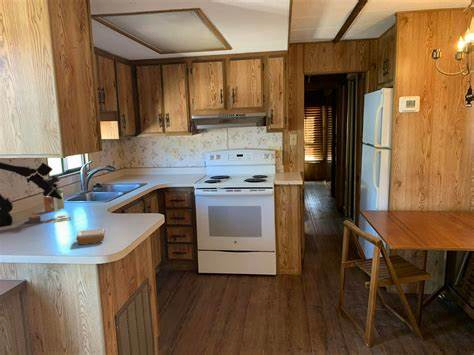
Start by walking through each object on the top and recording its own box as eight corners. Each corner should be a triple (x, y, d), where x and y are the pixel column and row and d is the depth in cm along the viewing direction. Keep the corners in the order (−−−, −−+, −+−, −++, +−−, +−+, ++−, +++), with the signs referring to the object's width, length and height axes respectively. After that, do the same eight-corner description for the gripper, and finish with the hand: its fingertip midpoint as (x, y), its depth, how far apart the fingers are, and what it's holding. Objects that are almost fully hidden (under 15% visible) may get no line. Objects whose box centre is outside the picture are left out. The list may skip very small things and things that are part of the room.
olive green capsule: (57, 209, 217) (55, 190, 216) (57, 208, 221) (55, 189, 219) (64, 208, 219) (62, 189, 218) (64, 207, 223) (62, 188, 221)
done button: (30, 220, 208) (30, 216, 208) (31, 218, 212) (30, 215, 212) (38, 219, 210) (38, 215, 210) (38, 217, 214) (38, 214, 214)
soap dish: (76, 246, 165) (75, 236, 164) (78, 240, 174) (77, 230, 173) (105, 243, 169) (104, 232, 168) (105, 237, 178) (104, 227, 177)
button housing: (29, 224, 207) (28, 218, 207) (29, 222, 213) (29, 216, 212) (40, 222, 210) (40, 217, 210) (41, 220, 215) (40, 215, 215)
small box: (44, 212, 240) (43, 196, 238) (51, 210, 245) (49, 195, 244) (54, 212, 238) (53, 197, 236) (60, 210, 243) (59, 195, 242)
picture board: (42, 225, 205) (42, 224, 205) (43, 219, 219) (42, 218, 219) (77, 220, 213) (77, 219, 213) (75, 214, 228) (75, 213, 228)
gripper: (47, 173, 207) (69, 190, 212) (52, 170, 225) (73, 186, 229) (33, 188, 206) (56, 204, 210) (40, 183, 223) (61, 199, 228)
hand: (62, 198), depth 220 cm, fingers closed on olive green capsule, 4 cm apart
